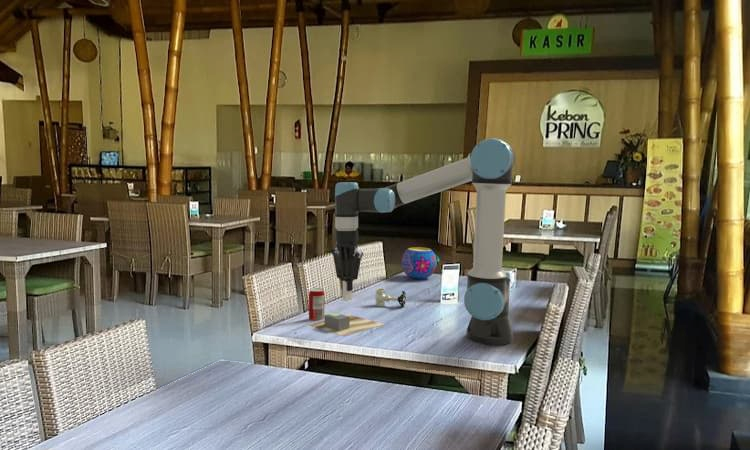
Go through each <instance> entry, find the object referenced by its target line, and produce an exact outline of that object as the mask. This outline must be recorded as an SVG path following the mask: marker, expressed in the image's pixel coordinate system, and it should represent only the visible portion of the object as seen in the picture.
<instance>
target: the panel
mask: <svg viewBox="0 0 750 450" xmlns="http://www.w3.org/2000/svg"><path fill="white" fill-rule="evenodd" d="M344 315H345V316H349V317H350V323H349V328H348V329H345V330H341V331H337V330H333V329H330V328H327V327H324V323H325V319H323V320H319V321H317V322H313V323H308V324H307V326H311V327H314V328H317V329H320V330H323V331H325V332H329V333H333V334H335V335H339V336H343V337H346V336H350V335H353V334H357V333H359V332H364V331H366V330H367V331H368V330H370V329H374V328H377V327H381V326H384V325H386V324H385V323H382V322H378V321H374V320H371V319H368V318H365V317H361V316H357V315H353V314H344Z"/></svg>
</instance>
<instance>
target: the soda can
mask: <svg viewBox="0 0 750 450" xmlns="http://www.w3.org/2000/svg"><path fill="white" fill-rule="evenodd" d="M325 298H326V297H325V289H324V288H320V287H315V288H314V287H312V288H310V289H309V291H308V320H310V321H317V322H319V321H324V320H325Z"/></svg>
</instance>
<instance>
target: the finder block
mask: <svg viewBox="0 0 750 450" xmlns="http://www.w3.org/2000/svg"><path fill="white" fill-rule="evenodd" d="M345 315H346V314H341V313H338V312H332V313H329V314H324V320H325V323H324V327H327V328H330V329H333V330H337V331H341V330H345V329H348V328H349V323H350V317H349V316H345Z"/></svg>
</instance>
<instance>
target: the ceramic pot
mask: <svg viewBox="0 0 750 450" xmlns="http://www.w3.org/2000/svg"><path fill="white" fill-rule="evenodd" d="M439 264H440V258H439V256H438V255H436V254H435V252H434V251H433V250H432V249H431V248H428V247H409V248H407V249H406V250H405V251H404V253H403V255H402V258H401V267H402V270H403V272H404V273H405V275H406V276H408V277H409V278H412V279H415V280H423V279H424V280H425V279H427V278H430V277H431V276H432V275H433V274H434V272H435V270H436V268H437V266H438V265H439Z"/></svg>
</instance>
